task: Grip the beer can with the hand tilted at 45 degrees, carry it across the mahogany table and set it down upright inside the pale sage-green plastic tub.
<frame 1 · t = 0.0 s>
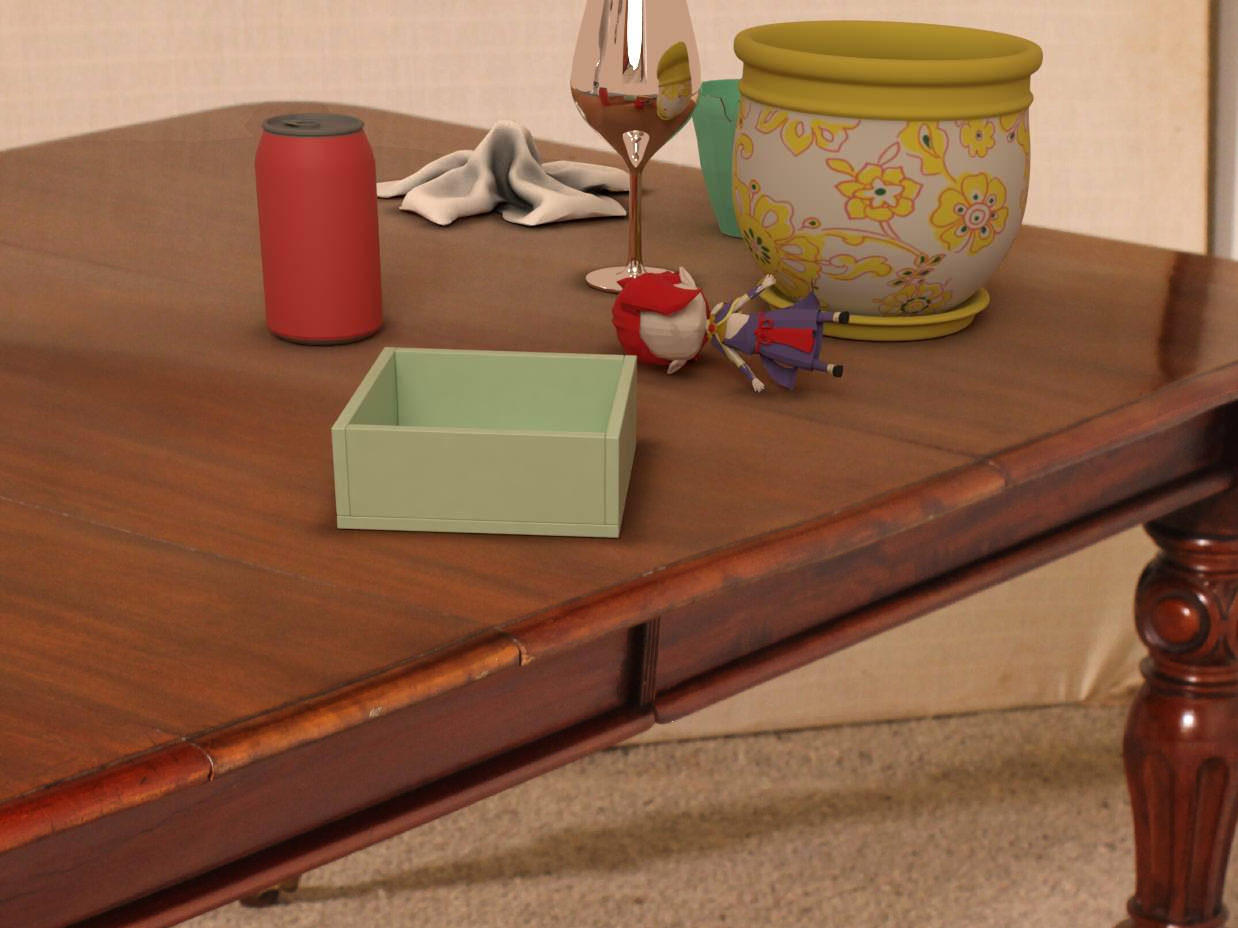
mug: (786, 234, 137), on the table
wineglass: (634, 284, 122), on the table
tub: (496, 484, 87), on the table
cloth: (496, 203, 143), on the table
flowerpot: (871, 317, 116), on the table
figurine: (720, 380, 104), on the table
beer can: (326, 335, 109), on the table
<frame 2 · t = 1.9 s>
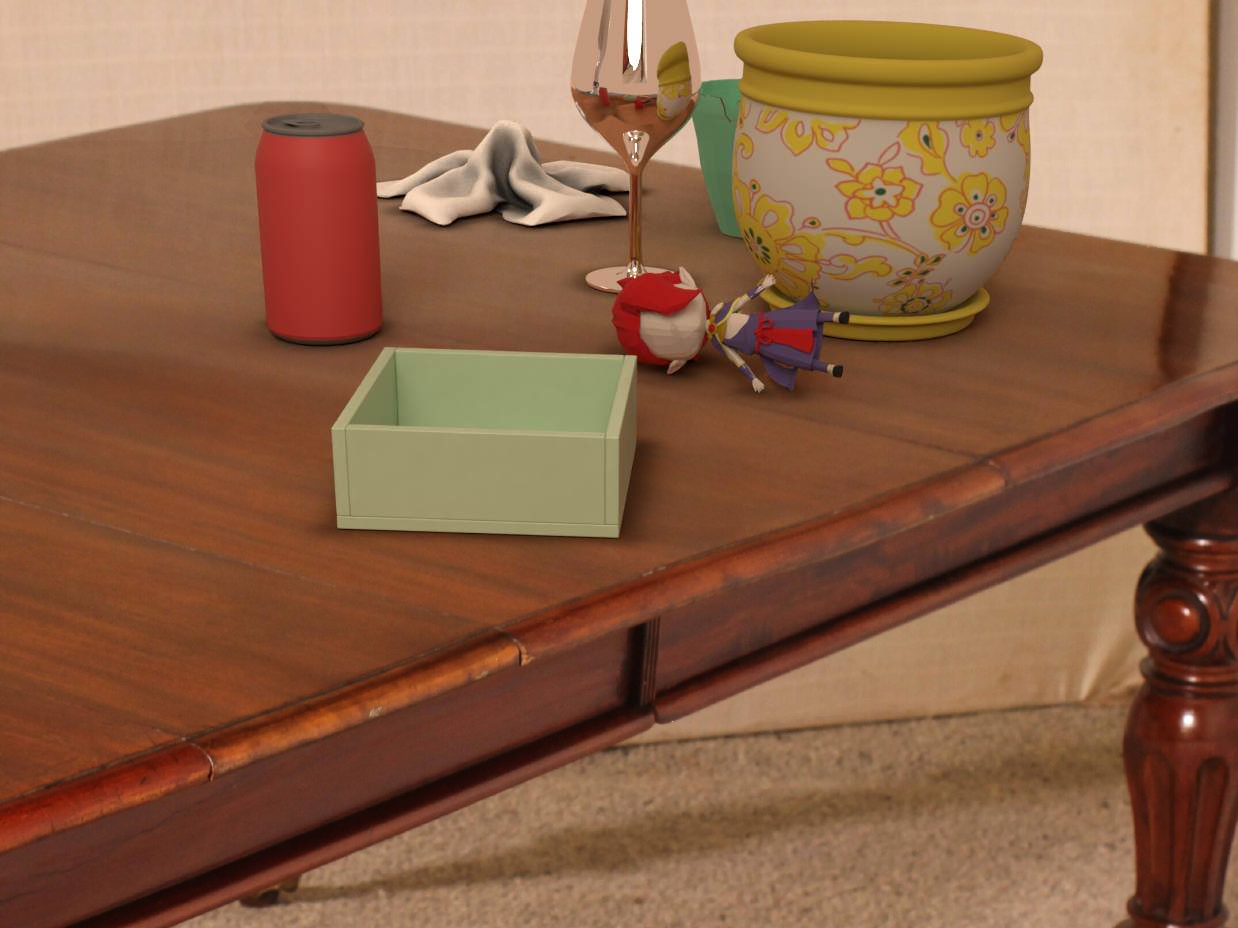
nothing on the table moved.
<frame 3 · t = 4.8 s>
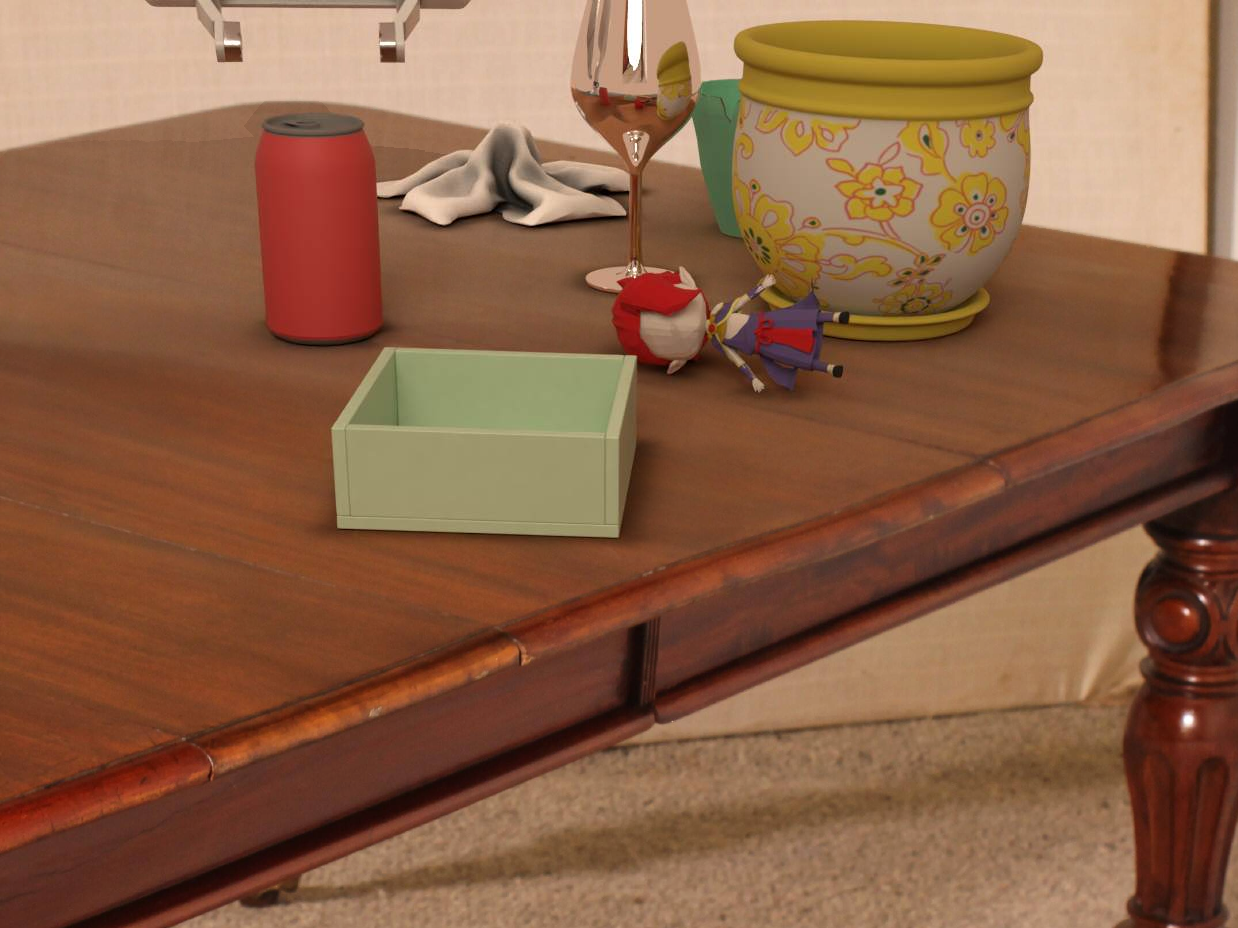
hand: (311, 56, 111), 14 cm above the table, tool tilted 45°, fingers open, 8 cm apart
nothing on the table moved.
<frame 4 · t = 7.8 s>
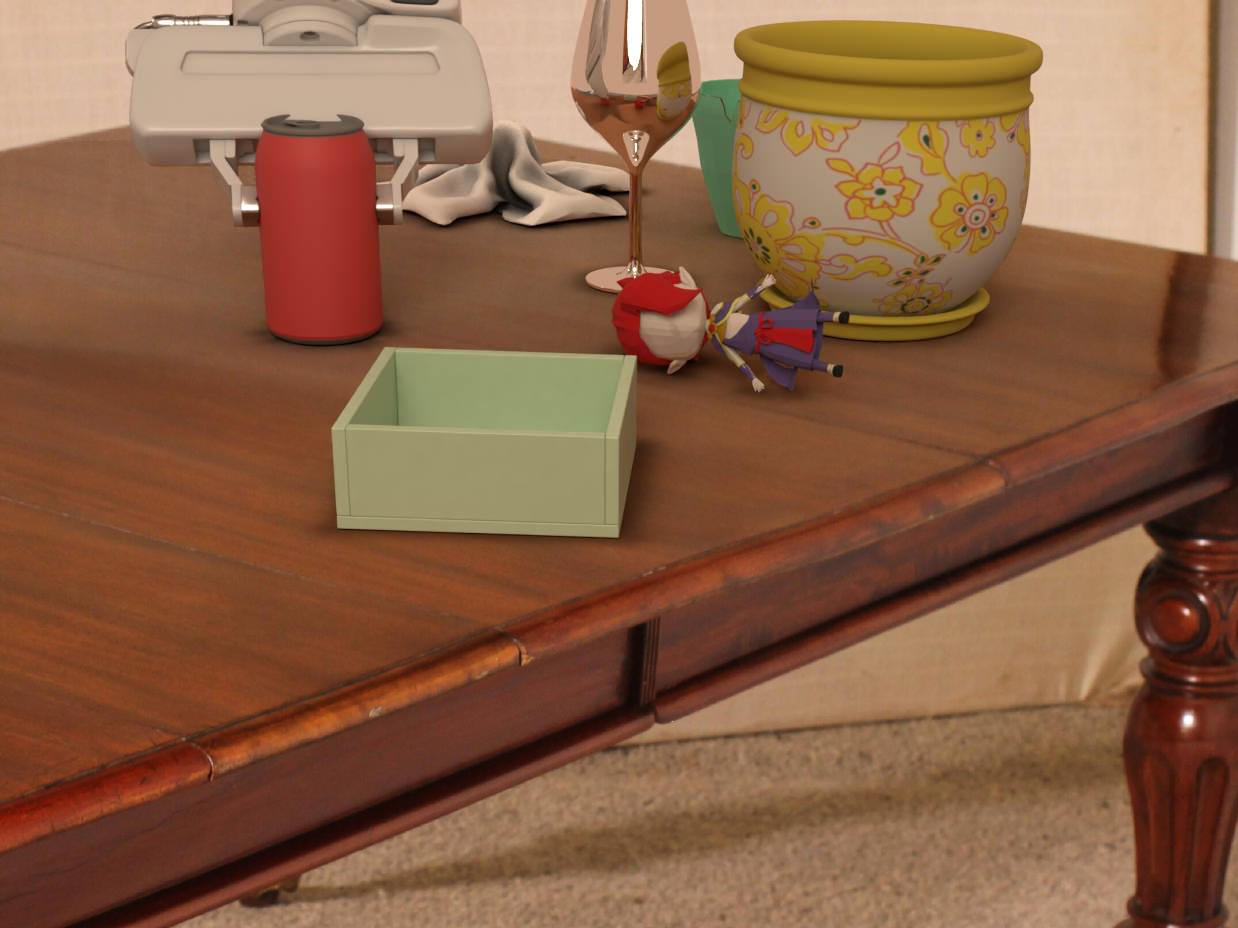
hand: (319, 220, 106), 7 cm above the table, tool tilted 45°, fingers closed on beer can, 6 cm apart
beer can: (326, 335, 109), on the table, touching gripper
everything else where it was.
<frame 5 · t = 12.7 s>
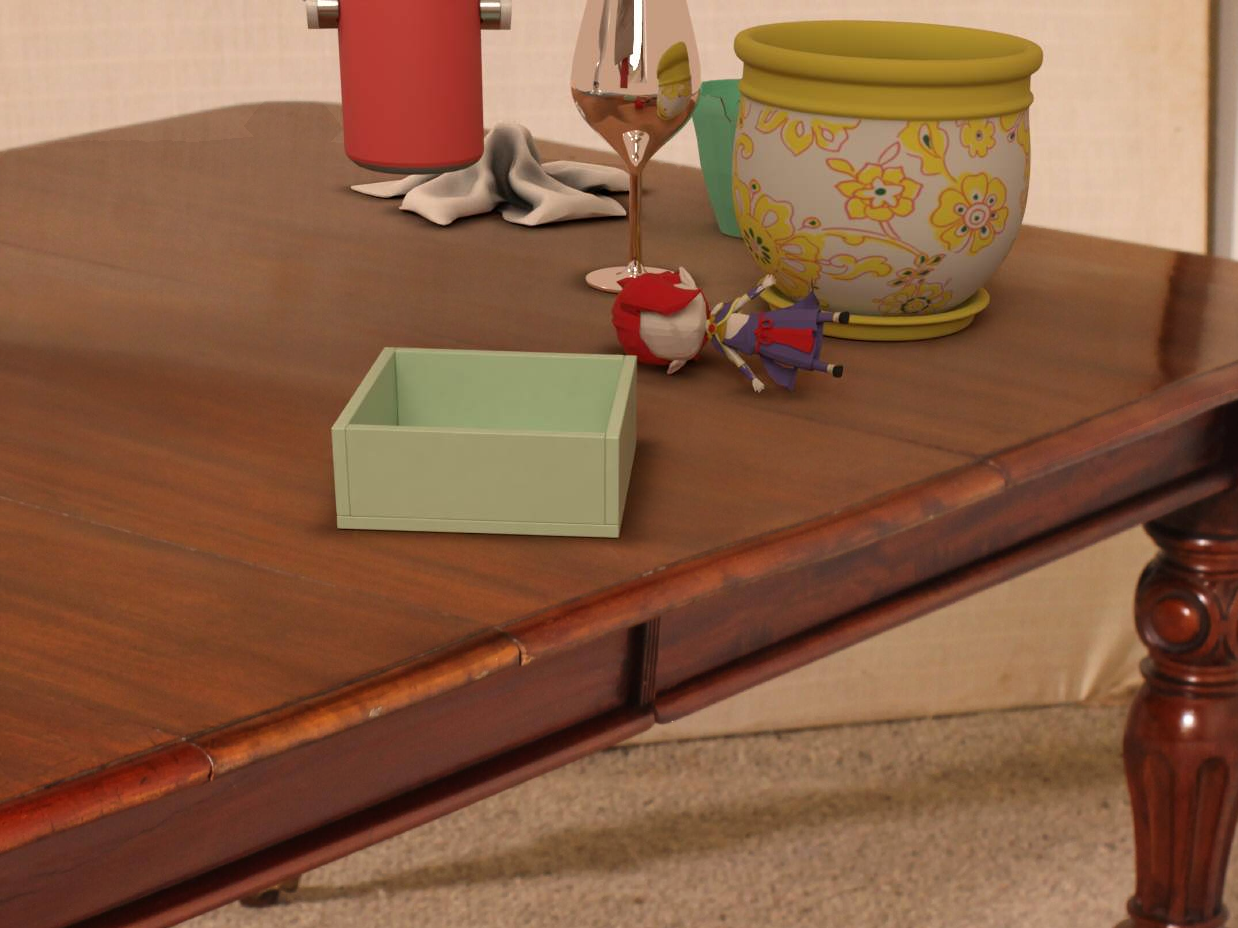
hand: (411, 21, 87), 19 cm above the table, tool tilted 45°, fingers closed on beer can, 6 cm apart
beer can: (415, 167, 90), point 13 cm above the table, touching gripper
everything else where it was.
when the fingers open (7 cm above the table, at t = 17.8 s): beer can stays where it is, resting on tub.
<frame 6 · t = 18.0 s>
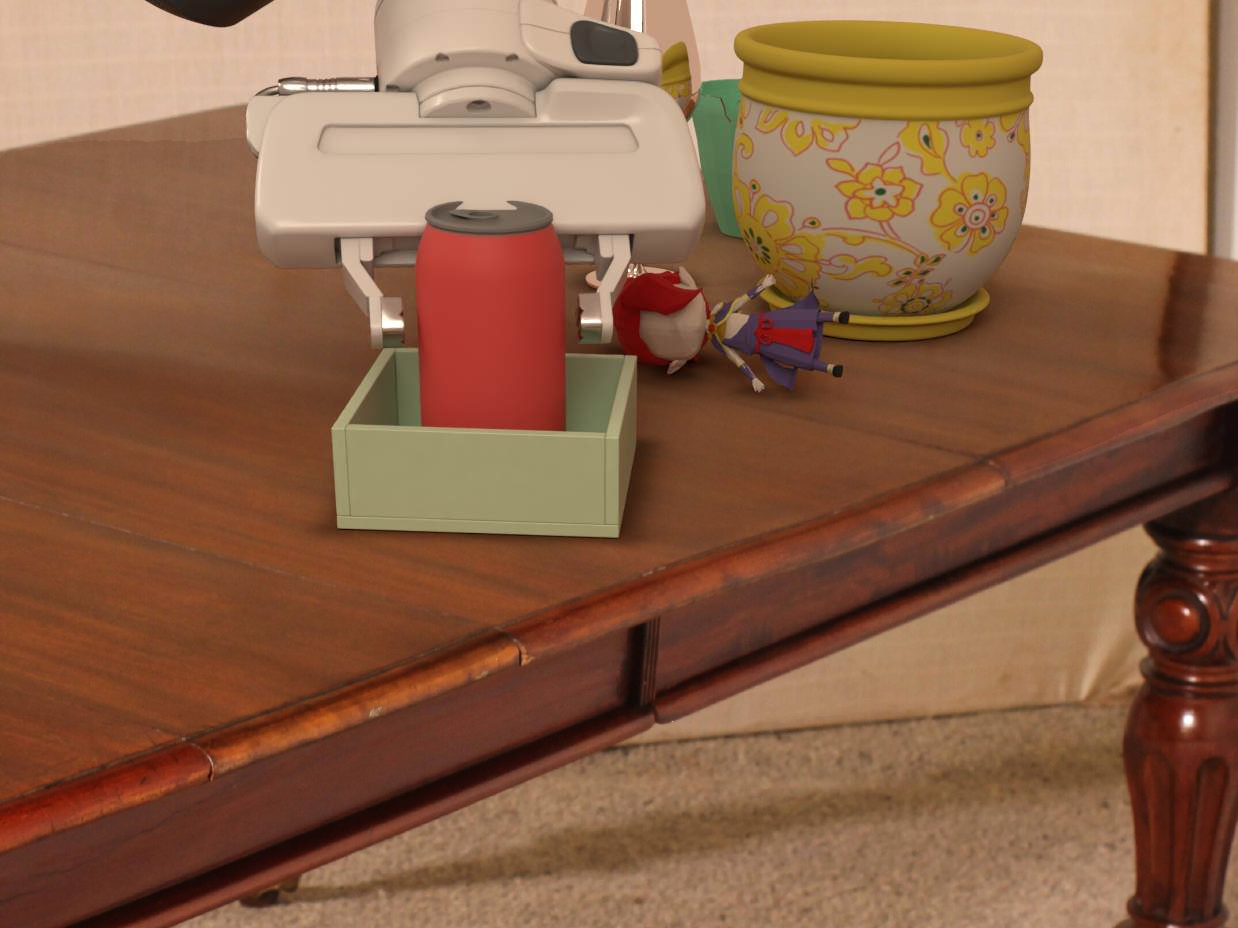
hand: (493, 340, 84), 7 cm above the table, tool tilted 45°, fingers open, 8 cm apart
beer can: (495, 476, 87), resting on tub
everything else where it was.
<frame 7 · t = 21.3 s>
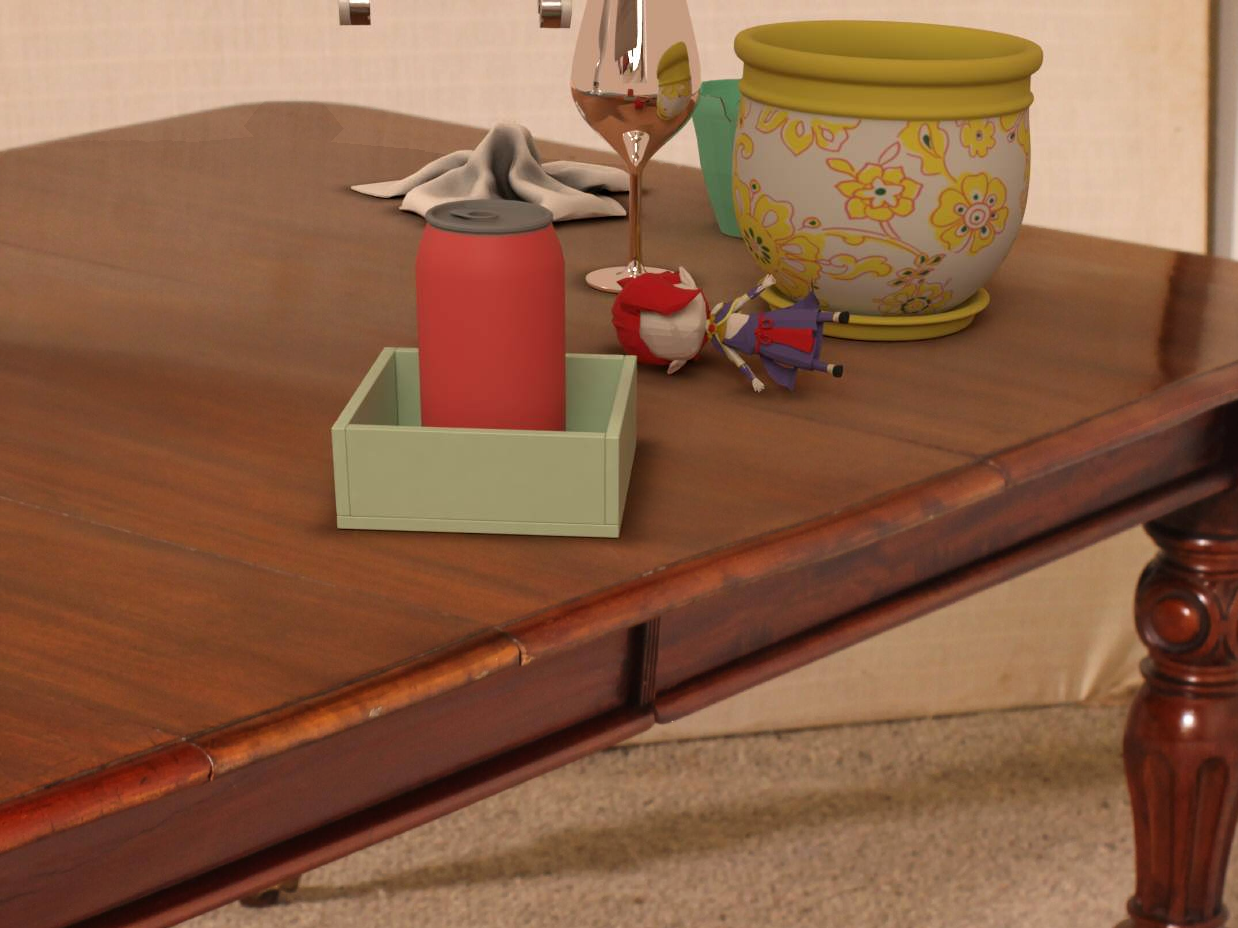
hand: (456, 19, 89), 19 cm above the table, tool tilted 45°, fingers open, 8 cm apart
nothing on the table moved.
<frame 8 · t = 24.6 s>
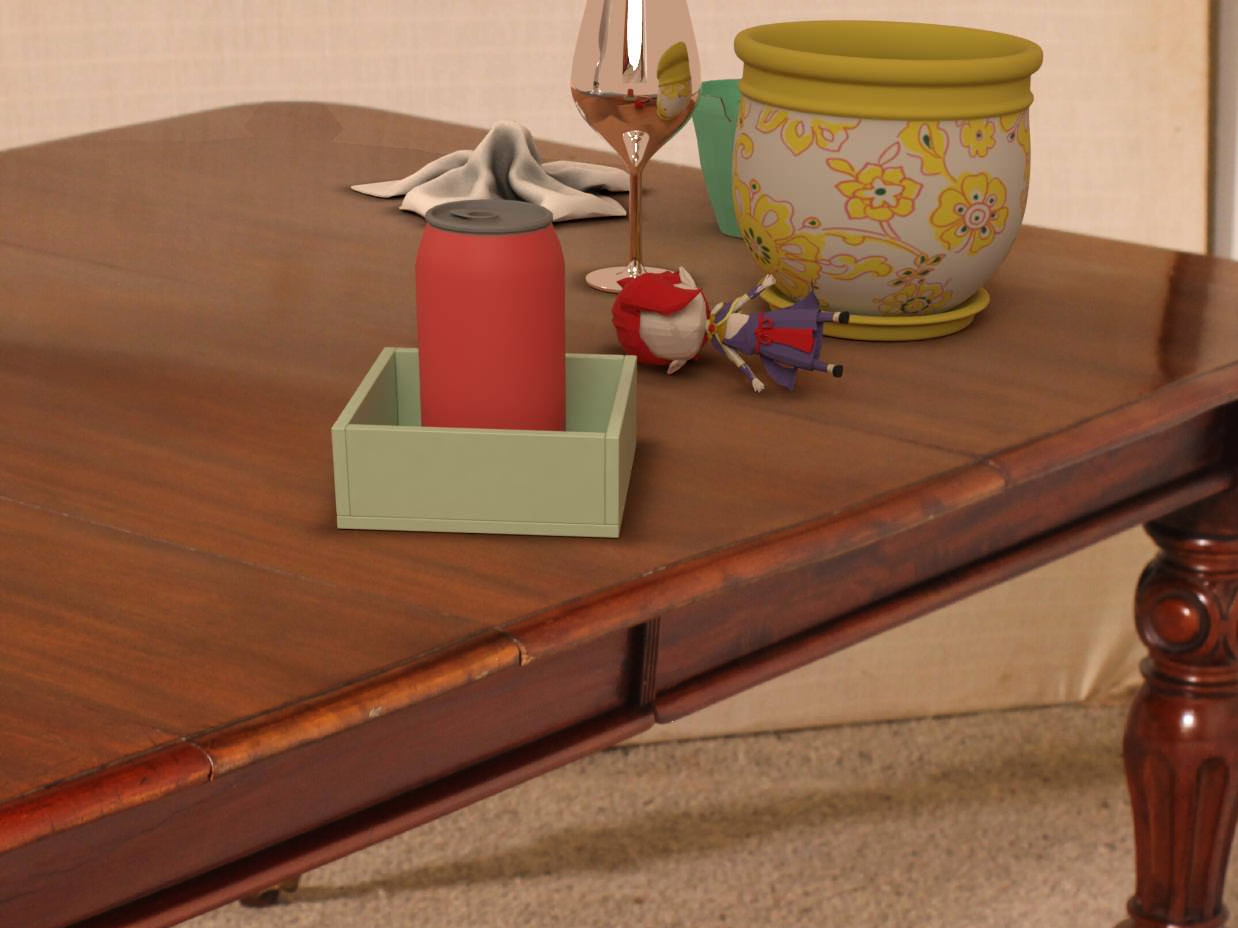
nothing on the table moved.
at the end: beer can inside the target area in the tub (0.0 cm from its centre), point 0.4 cm above the tub's base; beer can tilted 0°; the gripper is holding nothing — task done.
